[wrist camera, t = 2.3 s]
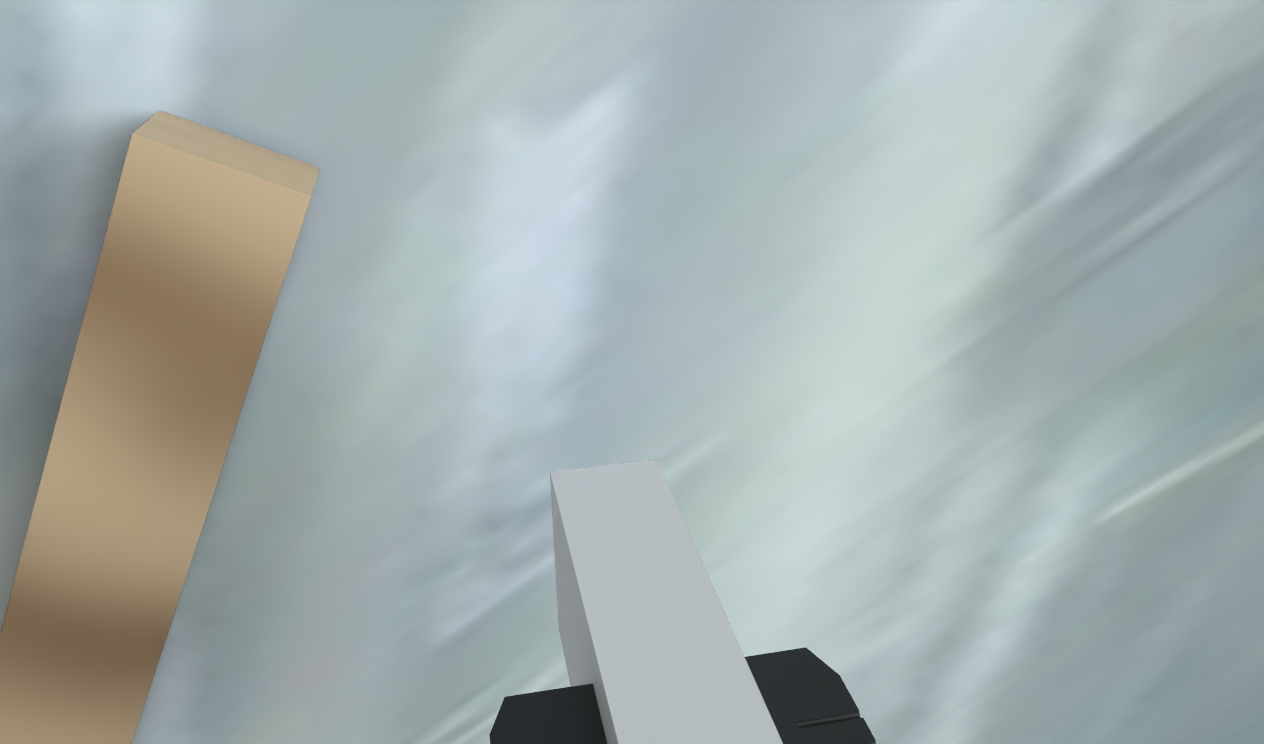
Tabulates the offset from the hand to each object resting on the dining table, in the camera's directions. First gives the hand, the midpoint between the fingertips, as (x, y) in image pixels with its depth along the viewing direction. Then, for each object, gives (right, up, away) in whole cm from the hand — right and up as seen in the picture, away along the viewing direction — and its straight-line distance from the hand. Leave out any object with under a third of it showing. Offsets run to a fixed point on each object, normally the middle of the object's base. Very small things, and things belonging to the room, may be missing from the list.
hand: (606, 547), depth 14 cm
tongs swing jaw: (-12, -3, +8) cm, 14 cm away
